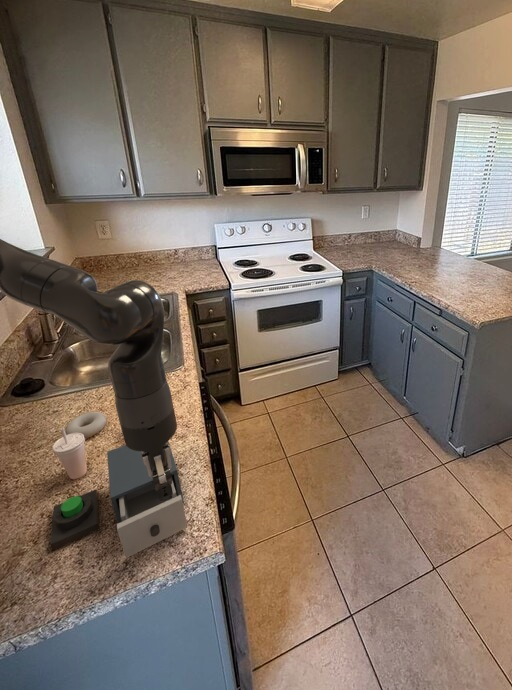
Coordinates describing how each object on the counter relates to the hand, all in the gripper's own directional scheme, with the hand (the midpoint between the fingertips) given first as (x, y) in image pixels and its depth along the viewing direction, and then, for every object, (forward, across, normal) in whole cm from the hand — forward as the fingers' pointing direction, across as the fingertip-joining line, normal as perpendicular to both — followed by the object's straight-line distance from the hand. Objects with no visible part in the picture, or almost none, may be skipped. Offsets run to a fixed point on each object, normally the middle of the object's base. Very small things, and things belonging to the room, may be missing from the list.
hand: (165, 494), depth 60 cm
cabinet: (+19, -22, -3) cm, 29 cm away
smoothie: (+19, -38, -17) cm, 46 cm away
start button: (+16, -23, -17) cm, 33 cm away
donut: (+19, -55, -15) cm, 60 cm away
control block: (+19, -23, -17) cm, 34 cm away
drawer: (+18, -14, -3) cm, 23 cm away
